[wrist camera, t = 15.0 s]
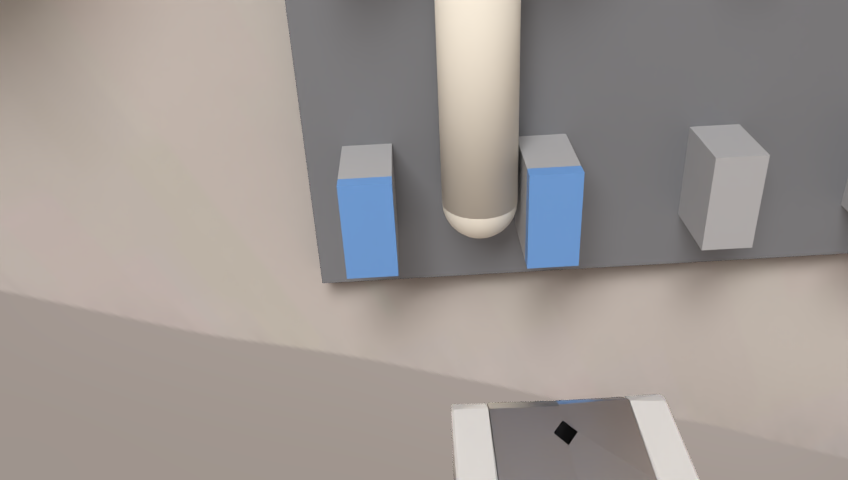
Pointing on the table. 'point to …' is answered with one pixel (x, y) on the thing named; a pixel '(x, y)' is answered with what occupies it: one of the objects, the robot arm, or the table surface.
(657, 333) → the table surface
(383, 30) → the grey peg board
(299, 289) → the table surface
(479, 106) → the white capsule
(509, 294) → the table surface
